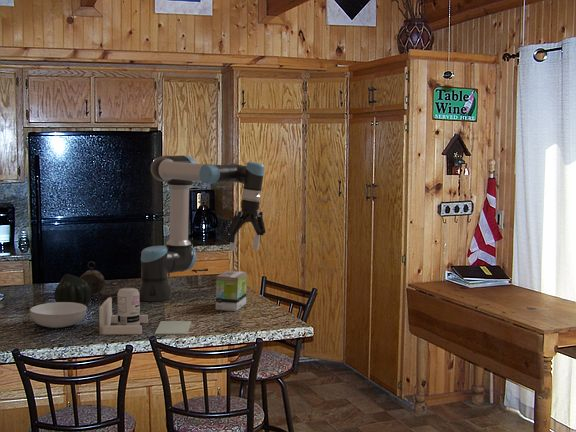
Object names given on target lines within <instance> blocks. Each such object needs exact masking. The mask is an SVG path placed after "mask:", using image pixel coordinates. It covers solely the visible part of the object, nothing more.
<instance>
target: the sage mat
mask: <svg viewBox="0 0 576 432" xmlns="http://www.w3.org/2000/svg"><path fill="white" fill-rule="evenodd" d="M191 324H192V320H177V321H176V320H161V321H160V322H159V324H158V326H157V328H156V330H155V332H154V335H188V333H189V330H190V327H191Z"/></svg>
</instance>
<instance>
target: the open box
mask: <svg viewBox="0 0 576 432" xmlns="http://www.w3.org/2000/svg"><path fill="white" fill-rule="evenodd" d="M112 303H113V297H107V299H106V300H104V301H103V303H102V304H101V306H99V308H98V309H99V311H98V312H99V314H98V315H99V316H98V317H99V320H98V322H99V335H142V334H143V328H142V327H143V326H142V325H140V326H118V325H112V324H118V314H113V304H112ZM148 323H149V315H148V314H140V324H148Z"/></svg>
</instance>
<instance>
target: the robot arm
mask: <svg viewBox="0 0 576 432" xmlns="http://www.w3.org/2000/svg"><path fill="white" fill-rule="evenodd" d="M150 172H151V175H152V177H153V178H154V179H155V180H157V181H159V182H166V184H167V186H168V187H169V190H170V191H169V193H170V196H169V239H168V241H166V243H165V245H152V246H148V247H146V248H143V249H142V251H141V252H140V253H141V254H140V255H141V256H140V265H141V268H140V269H141V270H140V274H141V275H140V277H141V278H140V279H141V282H140V285H139V289H138V291H139V296H140V301H144V302H162V301H163V302H164V301H169V300H171V299H172V292H171V289H170V286H169V282H168V274H172V273H174V274H175V273H180V272H181V273H183V272H186V271H190V270H191V269H192V268H193V267H194V265H195V263H196V262H197V261H196V260H197V253H196V252H197V251H195V250H196V249H195V248H194V247H193V246H192V242H191V241H190V240H189V219H190V217H189V213H190V212H189V211H190V210H189V209H190V206H189V205H190V203H189V202H190V189H191V187H193V182H199V183H200V182H202V183H203V184H207V185H210V184H211V185H213V184H227V183H228V184H229V183H230V184H231V183H239V184H243V189H242V196H241V198H242V199H241V203H240V208H241V211H239V210H235V211H234V216H233V218H232V219H231V221H230V224H229V226H228V228H227V230H226V233H228V234H229V236H230V237H229V251H232V252H235V251H236V245H237V238H238V235H237V234H238V232H239V231H240V230H241V229H242V227H243V225H244V224H247V223H251V225H252V227H253V229H254V231H255V233H254V237H253V242H252V243H253V244H252V249H253V250H255V251H259V250H260V249H259V248H260V243H261V241H262V236H264V234H265V233H266V228H265V223H264V219H263V217H264V216H263V215H264V214H263V211H259V209H260V200H261V196H262V195H261V193H262V187H263V181H264V175H265V165H264V164H263V163H259V162H254V161H248V162H246V165H242V164H238V163H232V162H231V163H230V162H229V163H227V164H207V163H197V162H196V160H195V159H194V158H193V157H192V156H189V155H184V154H183V155H162V156H158V157H155V159H154V160H153V161H152V163H151V165H150Z"/></svg>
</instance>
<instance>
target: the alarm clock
mask: <svg viewBox="0 0 576 432" xmlns="http://www.w3.org/2000/svg"><path fill="white" fill-rule="evenodd" d="M90 263H91V261H89V262H88V263H87V267H88V268H89V270H87V271H85V272H84V273H83V274H81V276H80V277H79V278H81V279H83V280H84V281H86V282H87V284H88V285H89V287H90V289H91V296H94V295H97V294H98V295H100V297H102V296H103V295H102V293H101V291H102V290H103V289H104V288H105V283H106V282H105V281H106V280H105V277H104V275H103V274H102V273H101V271H98V270H96V269H94V268H95V266H96V263H95V262H94V261H92V263H93V265H94V267H90V266H89V264H90Z"/></svg>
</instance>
